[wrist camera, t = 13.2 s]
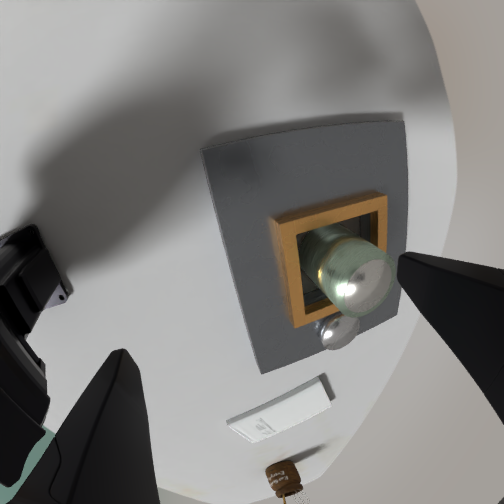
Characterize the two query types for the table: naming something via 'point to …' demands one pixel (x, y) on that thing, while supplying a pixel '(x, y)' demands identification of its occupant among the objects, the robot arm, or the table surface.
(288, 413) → the external hard drive
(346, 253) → the can
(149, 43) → the table surface
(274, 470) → the utensil holder
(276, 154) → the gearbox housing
